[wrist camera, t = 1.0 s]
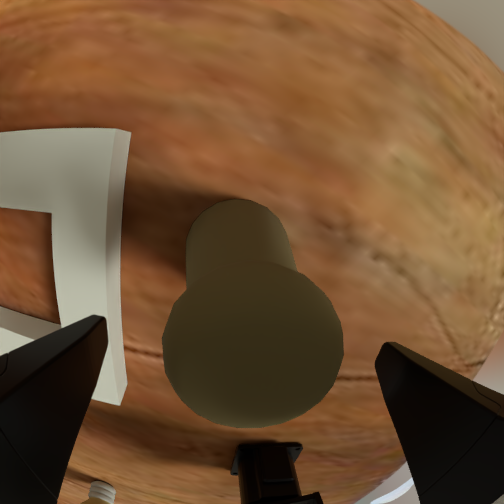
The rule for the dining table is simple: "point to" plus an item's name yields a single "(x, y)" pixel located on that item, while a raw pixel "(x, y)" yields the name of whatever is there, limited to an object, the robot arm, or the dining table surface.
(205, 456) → the dining table surface
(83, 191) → the socket board
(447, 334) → the dining table surface
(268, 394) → the olive green peg
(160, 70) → the dining table surface
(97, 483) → the light bulb
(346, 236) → the dining table surface
